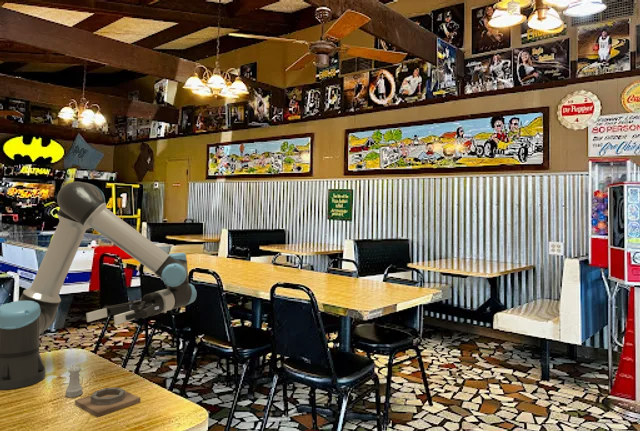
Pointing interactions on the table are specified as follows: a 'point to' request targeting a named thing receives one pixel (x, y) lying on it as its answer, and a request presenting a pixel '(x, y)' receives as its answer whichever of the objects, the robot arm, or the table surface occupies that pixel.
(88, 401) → the socket board
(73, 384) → the rook chess piece
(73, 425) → the table surface
